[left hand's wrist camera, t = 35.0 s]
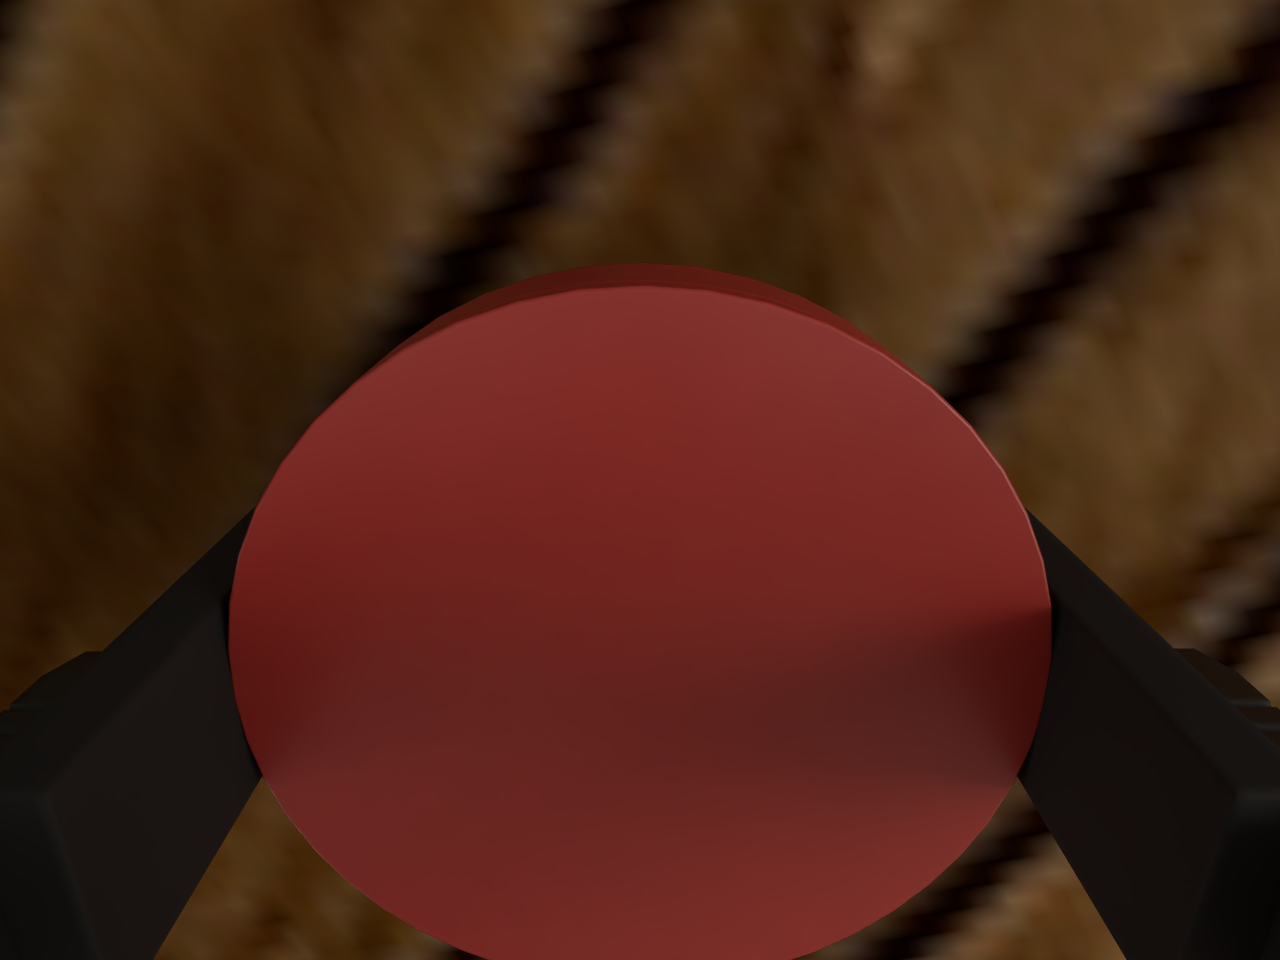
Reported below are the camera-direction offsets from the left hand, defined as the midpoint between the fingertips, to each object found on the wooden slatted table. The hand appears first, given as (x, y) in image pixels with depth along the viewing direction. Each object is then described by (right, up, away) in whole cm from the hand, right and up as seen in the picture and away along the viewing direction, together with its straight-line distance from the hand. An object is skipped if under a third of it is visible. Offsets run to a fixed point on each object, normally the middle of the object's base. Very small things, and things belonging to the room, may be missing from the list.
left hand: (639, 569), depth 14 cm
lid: (0, -1, -3) cm, 3 cm away
